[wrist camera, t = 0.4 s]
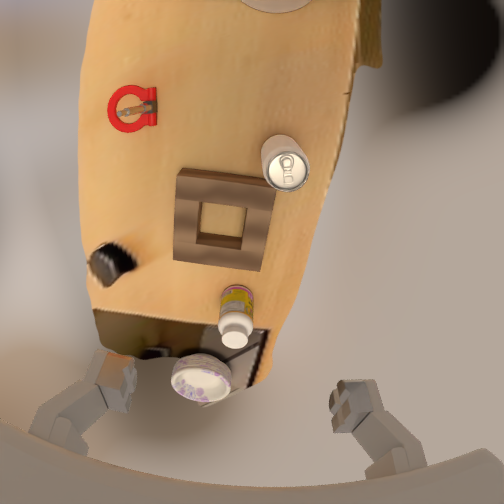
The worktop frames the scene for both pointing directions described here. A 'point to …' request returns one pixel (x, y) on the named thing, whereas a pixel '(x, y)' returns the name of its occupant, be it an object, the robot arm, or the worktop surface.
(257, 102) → the worktop surface
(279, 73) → the worktop surface
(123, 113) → the tow hook
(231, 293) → the supplement bottle
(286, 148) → the can
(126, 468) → the robot arm
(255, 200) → the holder
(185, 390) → the paper bowls
